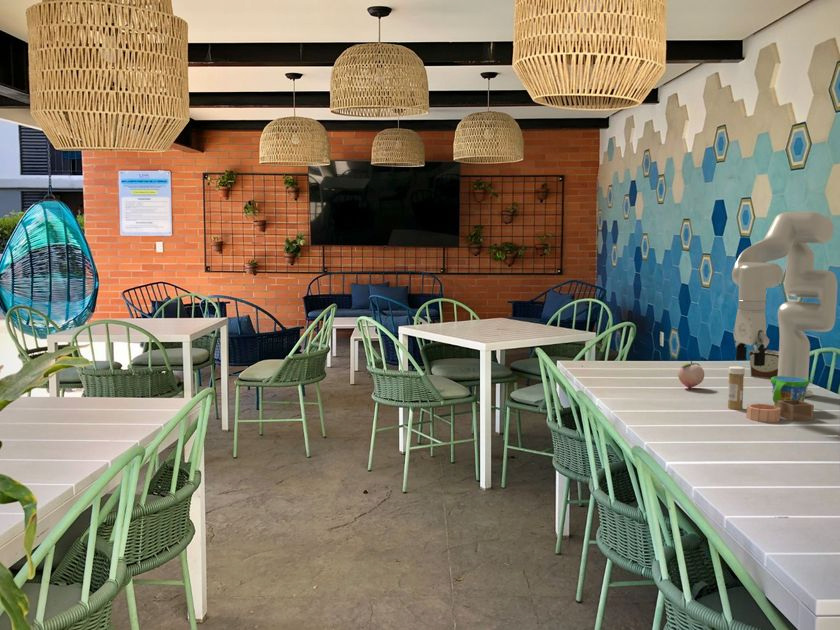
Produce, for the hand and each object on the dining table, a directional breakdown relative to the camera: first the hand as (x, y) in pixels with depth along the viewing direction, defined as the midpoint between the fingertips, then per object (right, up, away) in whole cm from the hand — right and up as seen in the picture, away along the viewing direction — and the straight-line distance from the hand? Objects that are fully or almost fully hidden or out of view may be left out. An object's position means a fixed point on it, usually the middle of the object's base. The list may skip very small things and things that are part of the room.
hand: (749, 362), depth 245 cm
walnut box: (+11, -16, -5) cm, 20 cm away
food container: (+33, -10, +67) cm, 75 cm away
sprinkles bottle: (-2, -15, +7) cm, 17 cm away
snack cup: (+14, -16, +6) cm, 22 cm away
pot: (+1, -17, -7) cm, 18 cm away
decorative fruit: (-4, -12, +42) cm, 44 cm away
